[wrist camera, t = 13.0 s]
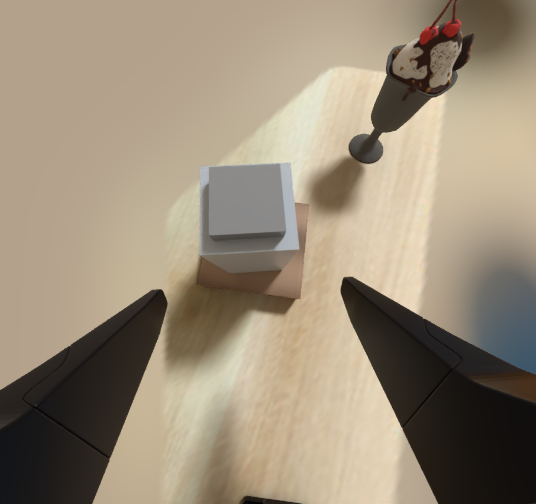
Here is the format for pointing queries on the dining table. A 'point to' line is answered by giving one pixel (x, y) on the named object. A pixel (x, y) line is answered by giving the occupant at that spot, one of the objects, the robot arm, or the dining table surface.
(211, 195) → the grey rectangular block
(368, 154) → the sundae
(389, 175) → the dining table surface
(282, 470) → the dining table surface
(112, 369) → the robot arm
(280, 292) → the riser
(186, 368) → the dining table surface
